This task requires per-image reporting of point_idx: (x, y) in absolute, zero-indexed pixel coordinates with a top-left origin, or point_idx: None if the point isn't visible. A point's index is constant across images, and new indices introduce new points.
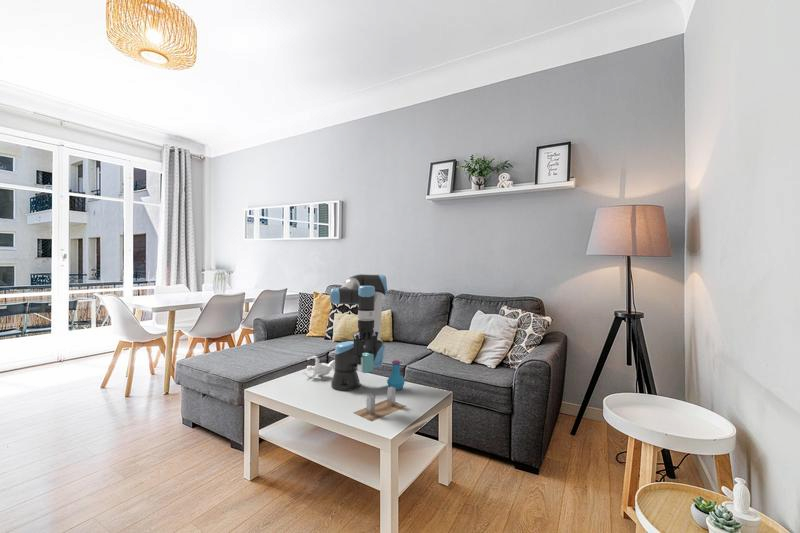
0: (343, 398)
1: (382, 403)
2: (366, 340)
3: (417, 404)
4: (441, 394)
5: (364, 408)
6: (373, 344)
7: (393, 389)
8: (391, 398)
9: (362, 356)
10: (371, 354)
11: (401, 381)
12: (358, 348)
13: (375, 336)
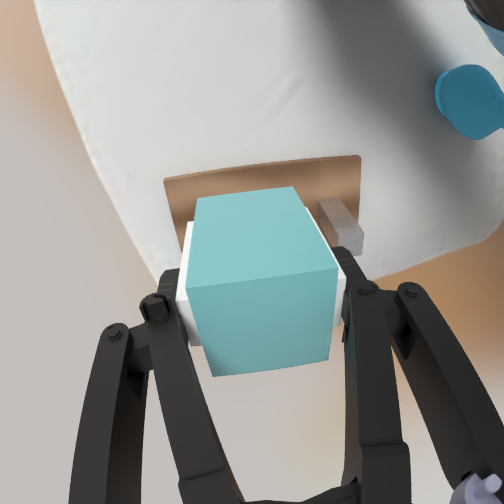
0: (225, 7)
1: (314, 177)
2: (360, 453)
3: (398, 239)
4: (486, 228)
5: (223, 173)
6: (426, 380)
7: None
8: (326, 235)
9: (204, 347)
10: (310, 356)
11: (477, 137)
12: (135, 437)
13: (452, 485)
